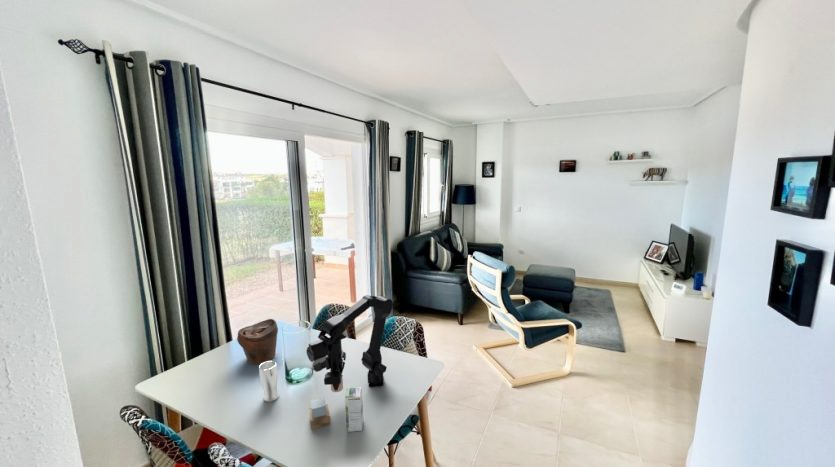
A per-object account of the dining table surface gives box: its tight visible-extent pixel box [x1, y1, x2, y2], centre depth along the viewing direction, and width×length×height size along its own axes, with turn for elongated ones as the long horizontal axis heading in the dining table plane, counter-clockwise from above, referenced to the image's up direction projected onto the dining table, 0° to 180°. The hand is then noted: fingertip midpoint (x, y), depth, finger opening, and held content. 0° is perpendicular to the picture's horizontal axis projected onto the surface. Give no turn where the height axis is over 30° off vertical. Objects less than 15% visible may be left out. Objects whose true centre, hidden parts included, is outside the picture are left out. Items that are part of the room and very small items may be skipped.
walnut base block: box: [308, 403, 331, 430], centre depth 134 cm, size 7×7×4 cm
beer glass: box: [258, 360, 280, 403], centre depth 147 cm, size 7×7×15 cm
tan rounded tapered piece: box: [330, 377, 344, 393], centre depth 142 cm, size 5×5×4 cm
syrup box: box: [344, 386, 364, 433], centre depth 130 cm, size 6×6×14 cm
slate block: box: [310, 397, 327, 418], centre depth 133 cm, size 5×5×4 cm
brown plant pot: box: [236, 318, 279, 365], centre depth 176 cm, size 18×20×18 cm
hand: (337, 385), depth 142 cm, fingers closed on tan rounded tapered piece, 5 cm apart
